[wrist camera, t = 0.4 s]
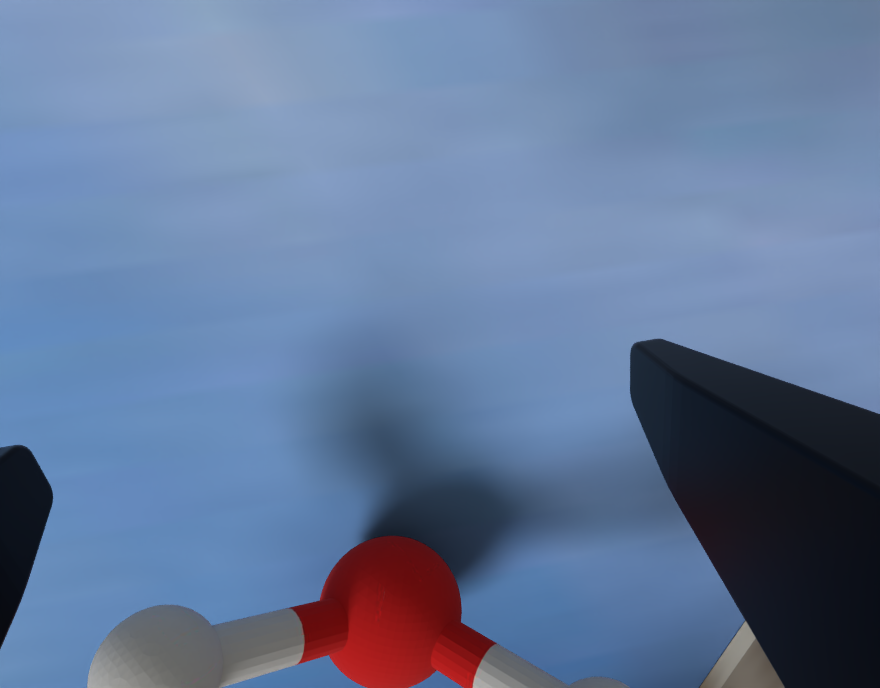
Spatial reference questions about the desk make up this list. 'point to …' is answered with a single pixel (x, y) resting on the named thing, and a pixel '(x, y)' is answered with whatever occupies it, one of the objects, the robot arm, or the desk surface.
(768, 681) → the cabinet
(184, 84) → the desk surface
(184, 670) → the molecular model
